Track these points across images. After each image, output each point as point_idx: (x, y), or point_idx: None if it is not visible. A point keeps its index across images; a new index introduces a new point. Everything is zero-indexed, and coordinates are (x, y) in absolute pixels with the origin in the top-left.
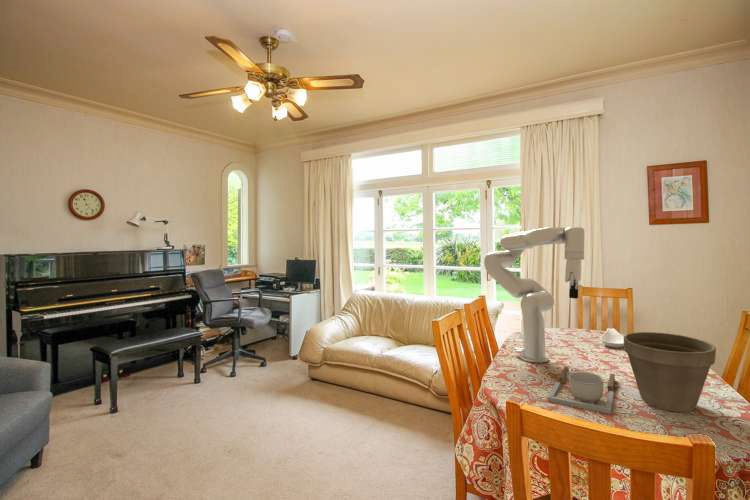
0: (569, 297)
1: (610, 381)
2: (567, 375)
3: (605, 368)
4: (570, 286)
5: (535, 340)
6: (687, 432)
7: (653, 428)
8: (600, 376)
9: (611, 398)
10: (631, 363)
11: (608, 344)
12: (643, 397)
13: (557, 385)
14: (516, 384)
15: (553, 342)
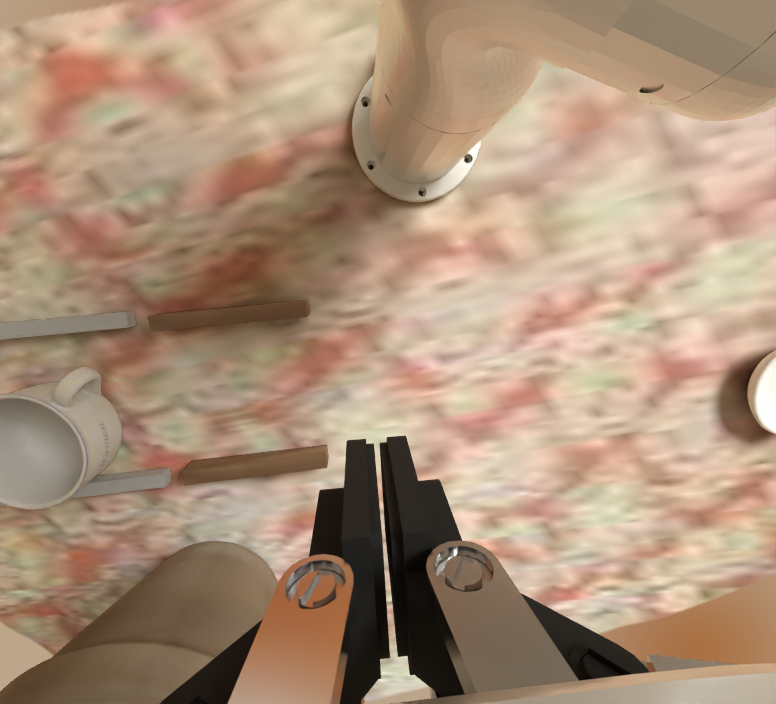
0: (348, 441)
1: (233, 471)
2: (77, 369)
3: (446, 409)
4: (268, 640)
5: (379, 116)
6: (43, 641)
7: (3, 588)
8: (69, 495)
9: (97, 492)
10: (95, 626)
11: (753, 374)
12: (166, 560)
13: (85, 327)
14: (26, 174)
15: (746, 137)
